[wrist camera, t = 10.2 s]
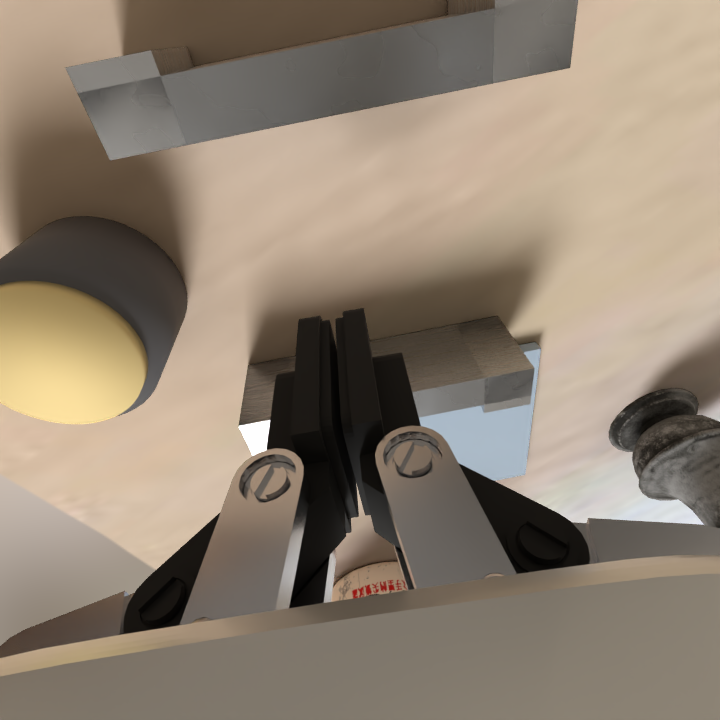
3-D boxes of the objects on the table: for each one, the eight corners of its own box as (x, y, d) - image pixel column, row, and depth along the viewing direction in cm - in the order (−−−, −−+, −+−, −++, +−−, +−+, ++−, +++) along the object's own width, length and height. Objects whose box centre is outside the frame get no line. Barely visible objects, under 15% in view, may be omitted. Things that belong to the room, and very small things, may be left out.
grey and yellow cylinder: (149, 201, 16) (97, 258, 12) (208, 336, 19) (185, 414, 15) (-14, 232, 16) (-121, 299, 12) (76, 361, 19) (19, 445, 15)
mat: (535, 341, 21) (540, 348, 21) (521, 467, 27) (525, 474, 27) (339, 380, 21) (339, 388, 21) (368, 496, 28) (369, 505, 27)
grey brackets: (512, -20, 13) (582, -38, 10) (496, 349, 21) (530, 404, 18) (122, 60, 13) (65, 67, 10) (260, 395, 22) (254, 458, 18)
